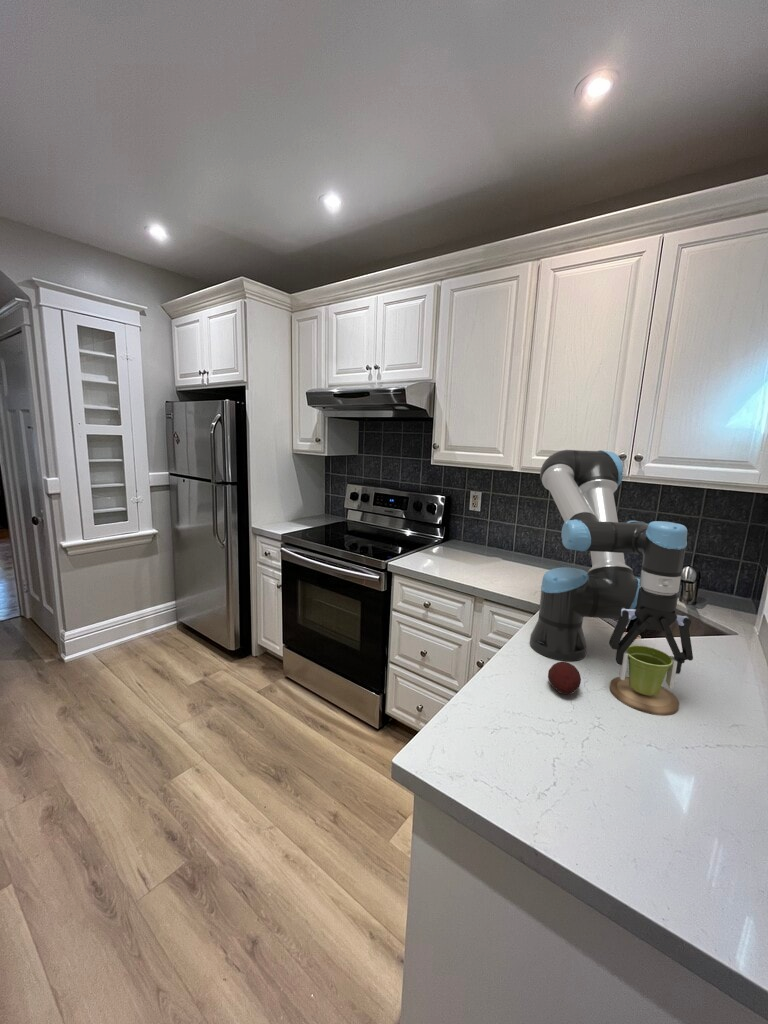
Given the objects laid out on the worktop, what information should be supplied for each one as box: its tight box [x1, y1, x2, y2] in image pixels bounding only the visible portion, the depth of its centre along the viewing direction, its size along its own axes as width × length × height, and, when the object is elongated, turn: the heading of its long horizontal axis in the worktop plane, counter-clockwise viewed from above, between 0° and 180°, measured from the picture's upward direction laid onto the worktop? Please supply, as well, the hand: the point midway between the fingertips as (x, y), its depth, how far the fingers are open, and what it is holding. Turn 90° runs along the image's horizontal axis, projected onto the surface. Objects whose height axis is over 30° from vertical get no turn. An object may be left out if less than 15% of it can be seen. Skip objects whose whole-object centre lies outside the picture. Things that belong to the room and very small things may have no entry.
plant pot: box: [626, 644, 673, 696], centre depth 99 cm, size 9×9×9 cm
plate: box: [609, 675, 680, 716], centre depth 100 cm, size 14×14×1 cm
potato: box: [547, 661, 582, 695], centre depth 101 cm, size 7×10×6 cm
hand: (644, 680), depth 99 cm, fingers closed on plant pot, 9 cm apart
